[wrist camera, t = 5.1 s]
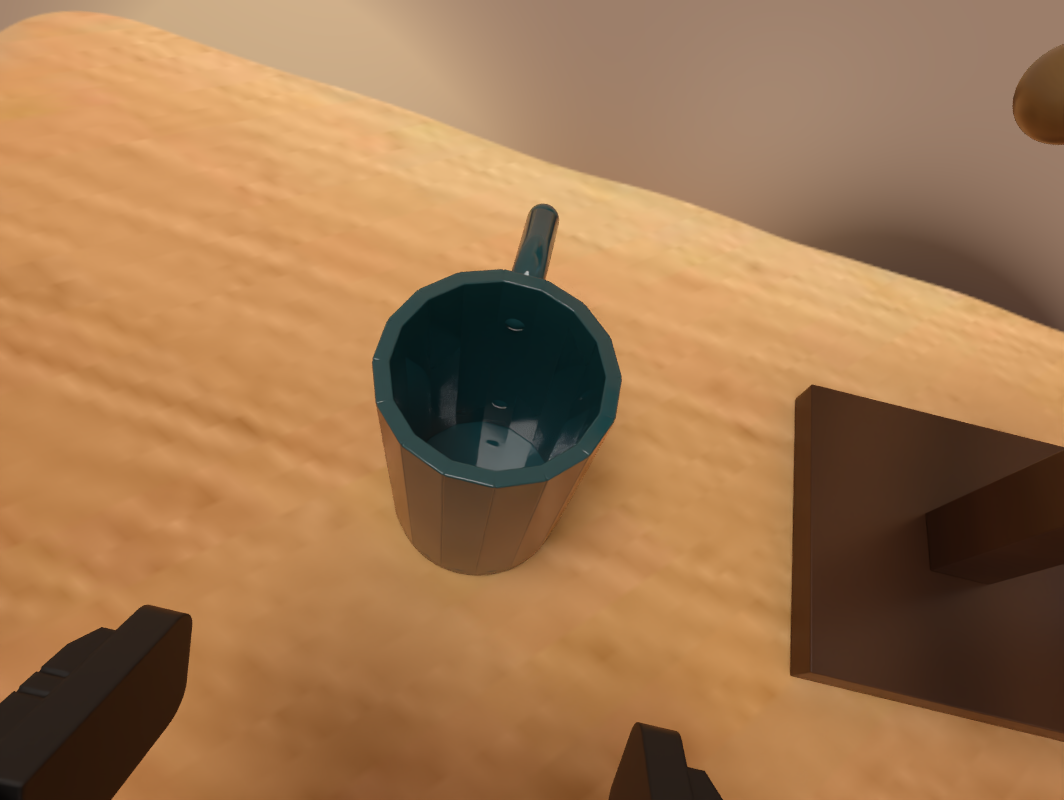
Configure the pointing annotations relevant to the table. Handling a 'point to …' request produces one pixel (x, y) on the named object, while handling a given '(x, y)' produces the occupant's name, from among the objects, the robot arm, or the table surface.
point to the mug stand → (934, 540)
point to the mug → (492, 407)
